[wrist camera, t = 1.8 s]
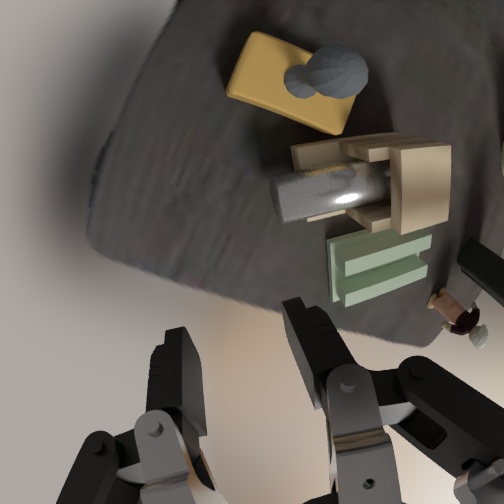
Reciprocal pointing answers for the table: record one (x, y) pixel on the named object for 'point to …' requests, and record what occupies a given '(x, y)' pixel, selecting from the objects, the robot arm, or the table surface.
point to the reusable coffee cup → (502, 159)
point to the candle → (483, 268)
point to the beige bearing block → (402, 178)
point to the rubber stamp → (299, 81)
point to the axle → (329, 188)
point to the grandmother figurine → (459, 317)
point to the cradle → (374, 263)
